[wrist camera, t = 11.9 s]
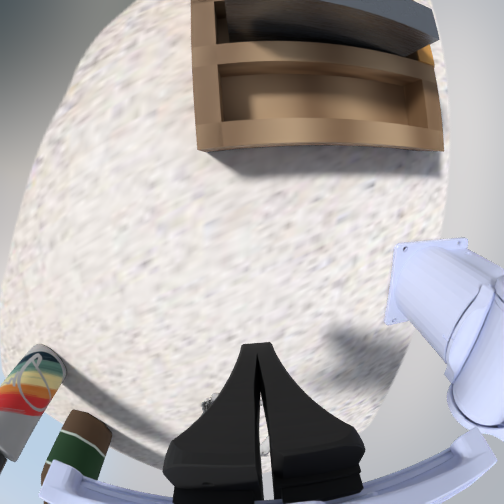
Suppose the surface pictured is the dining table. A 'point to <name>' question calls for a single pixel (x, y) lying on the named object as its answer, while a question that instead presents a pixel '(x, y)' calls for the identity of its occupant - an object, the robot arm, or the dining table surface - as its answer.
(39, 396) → the lotion bottle
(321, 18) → the panel
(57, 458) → the beer bottle
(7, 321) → the dining table surface
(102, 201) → the dining table surface
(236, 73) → the rack
